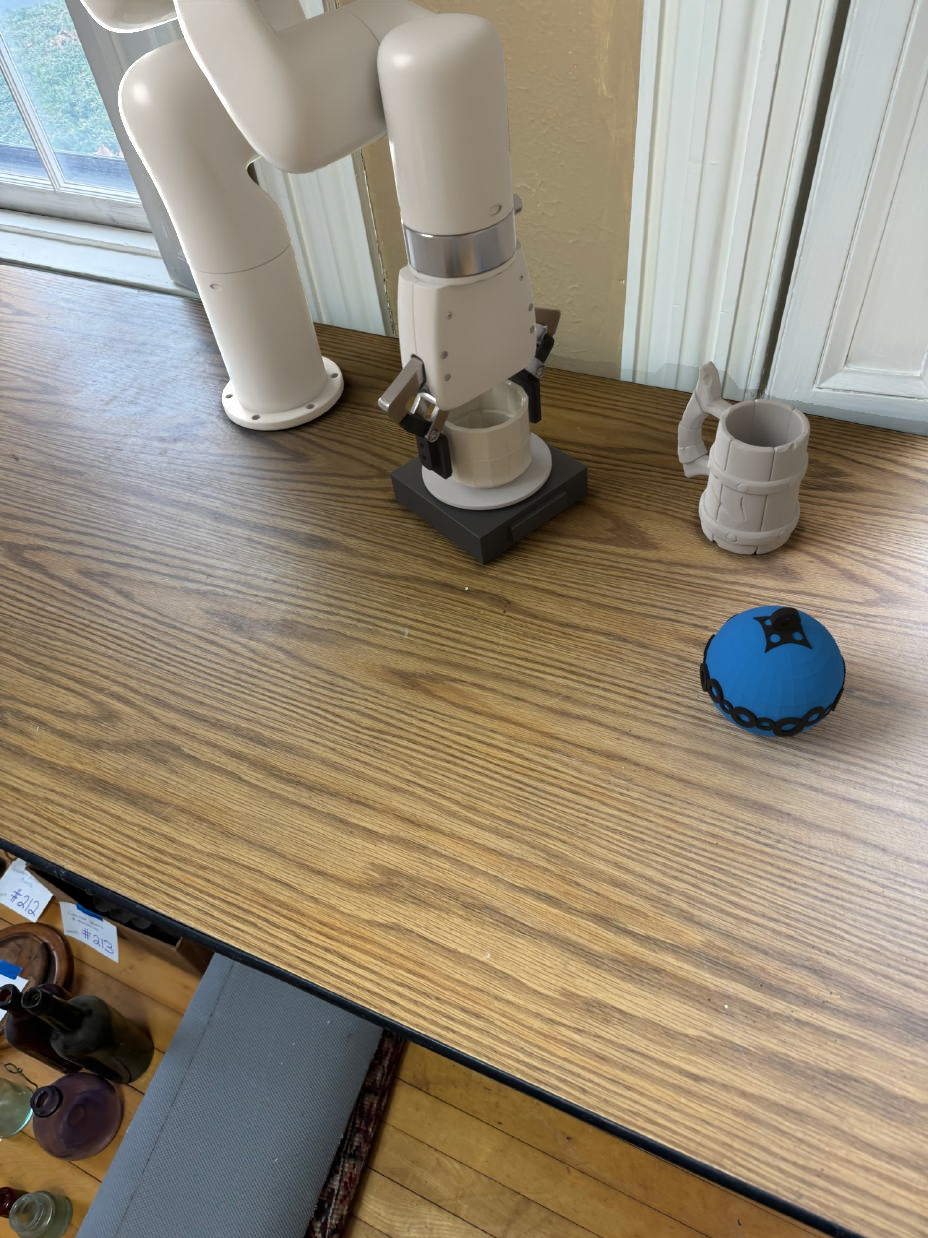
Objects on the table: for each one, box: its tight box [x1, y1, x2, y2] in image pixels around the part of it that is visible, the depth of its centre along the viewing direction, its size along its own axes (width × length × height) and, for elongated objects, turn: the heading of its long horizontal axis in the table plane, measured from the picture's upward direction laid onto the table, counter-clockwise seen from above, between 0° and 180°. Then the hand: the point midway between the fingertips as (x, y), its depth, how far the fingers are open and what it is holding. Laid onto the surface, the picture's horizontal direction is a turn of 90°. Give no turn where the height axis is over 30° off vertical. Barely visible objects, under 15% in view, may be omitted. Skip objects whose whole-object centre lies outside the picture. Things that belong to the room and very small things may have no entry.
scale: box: [389, 431, 589, 566], centre depth 73 cm, size 12×12×4 cm
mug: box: [677, 360, 811, 555], centre depth 66 cm, size 8×12×12 cm, turn 34°
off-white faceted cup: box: [441, 379, 532, 488], centre depth 70 cm, size 7×7×6 cm
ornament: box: [699, 604, 847, 738], centre depth 54 cm, size 9×9×10 cm
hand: (483, 442), depth 71 cm, fingers open, 9 cm apart
